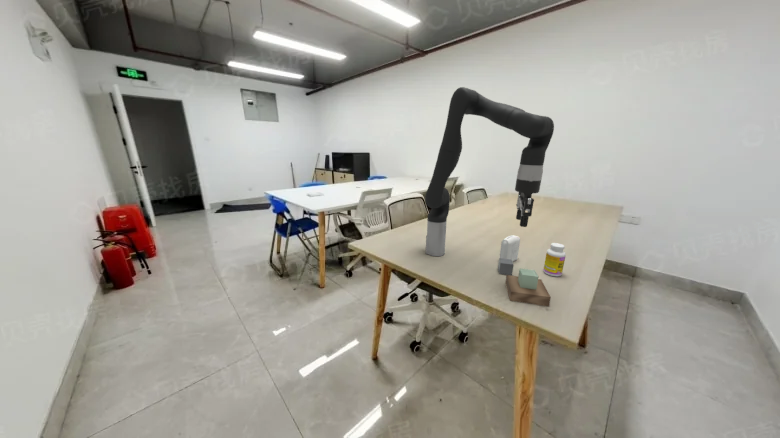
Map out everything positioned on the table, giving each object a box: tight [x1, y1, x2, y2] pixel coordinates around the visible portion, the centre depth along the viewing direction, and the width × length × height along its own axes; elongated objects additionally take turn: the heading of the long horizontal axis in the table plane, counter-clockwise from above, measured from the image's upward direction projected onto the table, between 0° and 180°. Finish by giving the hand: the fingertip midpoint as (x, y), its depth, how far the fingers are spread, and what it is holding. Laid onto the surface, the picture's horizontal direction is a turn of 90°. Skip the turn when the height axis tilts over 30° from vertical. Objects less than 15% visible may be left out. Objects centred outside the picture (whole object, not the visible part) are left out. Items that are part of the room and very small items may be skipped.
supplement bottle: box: [542, 242, 567, 277], centre depth 103 cm, size 7×7×13 cm
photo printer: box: [499, 234, 521, 263], centre depth 115 cm, size 10×4×12 cm, turn 123°
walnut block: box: [505, 274, 551, 307], centre depth 90 cm, size 12×12×4 cm
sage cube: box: [518, 268, 539, 289], centre depth 89 cm, size 5×5×5 cm
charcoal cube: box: [497, 257, 514, 276], centre depth 106 cm, size 5×5×5 cm
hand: (521, 222), depth 90 cm, fingers open, 8 cm apart
